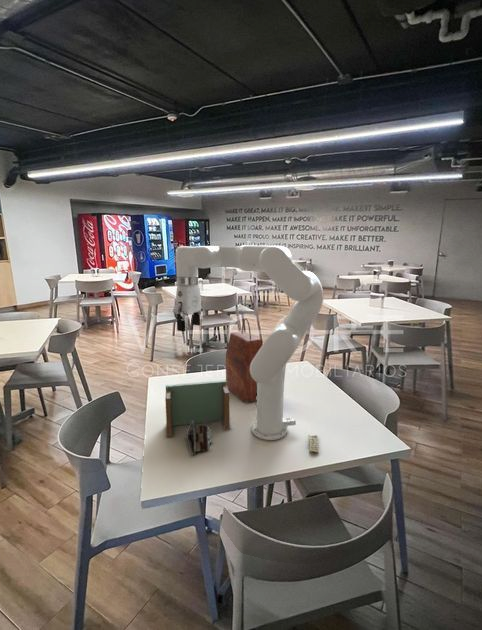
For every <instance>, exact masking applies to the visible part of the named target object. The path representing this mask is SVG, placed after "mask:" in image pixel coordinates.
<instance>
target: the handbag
mask: <svg viewBox="0 0 482 630" xmlns="http://www.w3.org/2000/svg"><path fill="white" fill-rule="evenodd" d="M245 321H246V322H247V326H248V327H247V328H248V332H247V331H244V325H245ZM241 325H242V326H241V331H234V332H231V333H230V334H229V339H228V343H227V348H226V351H225V380H226V385H227V388H228V390H229V391H230V392H231V393H233V394H234V395H235V396H236V397H237V398H239V399H240V400H241V401H242V402H244V403H250V402H255V401H257V400H256V381H255V380H254V379H253V378H252V376H251V374H250V364H251V362H252V360H253V359H254V357H255V356H256V354H257V353H258V351H259V350H260V348H261V347H262V345H263V344H264V342H263V340H262V338H259V337H257V336H254V335H253V334H251V326H250V321H249V319H248V318H245V317H244V319H243V321H242V324H241Z"/></svg>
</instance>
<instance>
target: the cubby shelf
mask: <svg viewBox="0 0 482 630" xmlns="http://www.w3.org/2000/svg"><path fill="white" fill-rule="evenodd" d="M164 399H165V401H164V402H165V421H166V437H167V438H171V437H173V427H177V426H186V425H190V424H191V422H192V419H193V423H194V424H201V423H211V422H219V421H220V422H221V421H222V424H223V427H224V430H225V431H230V429H231V428H230V426H231V425H230V424H231V423H230V421H231V420H230V419H231V418H230V416H231V414H230V408H231V407H230V406H231V405H230V390H229V389H228V388H227V385H226V379H224V380H223V379H222V380H221V379H220V380H210V381H201V382H200V381H199V382H187V383H176V384H165V396H164Z"/></svg>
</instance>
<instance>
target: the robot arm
mask: <svg viewBox="0 0 482 630" xmlns="http://www.w3.org/2000/svg"><path fill="white" fill-rule="evenodd" d="M210 268H233V269H238V270H240V271H242V272H259V273H261V272H263V273H265V274H266V276H267V277H268V278H269V280H271V281H272V282H273V283H274V284H275V285H276V286H277V287H278V288H279V289H280V290H281V291H282V292H283V293H284V294H285V295H286V296H287V297H288V298H289V299H291V300H293V301H295V302H294V304H293V306H291V308H290V310H289V311H288V313H287V315H286V316H285V318H284V319H283V320H282V321H281V323H280V324H279V325H278V326H276V328H274V329H273V330H272V331H271V332H270V333H269V334H268V336H267V337H266V339H265V340H264V342H263V345H262V347H261V348H260V350H259V351H258V353H257V354H256V356H255V357H254V359H253V360H252V362H251V364H250V374H251V376H252V378H253V379H254V380H255V381H256V382H257V400H256V421H255V422H254V423H253V425H252V427H251V431H252V434H253V436H255V437H256V438H258V439H260V440H265V441H276V440H280V439H282V438H284V437H285V436H286V435H287V433H288V427H289V426H296V425H297V422H296V419H291V418H290V417H284V399H285V398H284V395H285V394H284V393H285V379H286V370H287V364H288V362H289V361H290V359H291V358H292V357H293V355H294V354H295V352H296V351H297V350H298V348H299V346H300V344H301V342H302V340H303V339H304V337H305V335H306V334H307V332H308V331H309V329H310V328H311V326H312V324H313V323H314V322H315V321H316V319H317V318H318V315H319V313H320V312H321V309H322V307H323V302H324V289H323V286H322V283H321V281H320V279H319V277H318V276H317V275H316V274H315V273H313V272H312V271H309V270H302V269H301V268H300V267H299V266H298V265H296V264H295V262H294V261H293V256H292V252H291V250H290V249H288V247H285V246H282V245H256V244H255V245H253V244H251V245H249V244H244V245H243V244H242V245H240V246H238V245H237V246H226V245H225V246H223V245H200V246H191V245H190V246H189V245H188V246H187V245H185V246H184V245H181V246H177V247H176V249H175V269H176V270H175V271H176V291H175V292H176V293H175V306H174V307H173V308H172V312H173V317H174V318H175V321H176V330H177V332H186V330H187V328H186V325H187V324H186V319H185V318H186V316H187V315H191V325H192V326H201V313H202V312H201V311H202V305H203V302H202V299H201V298H202V295H201V288H200V284H199V269H210Z"/></svg>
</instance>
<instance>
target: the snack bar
mask: <svg viewBox="0 0 482 630" xmlns="http://www.w3.org/2000/svg"><path fill="white" fill-rule="evenodd" d="M308 438H309V439H308V441H309V452H313V453H315V454H319V452H320V451H319V448H318V447H319V446H318V435H316V434H315V435H310V434H308Z"/></svg>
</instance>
